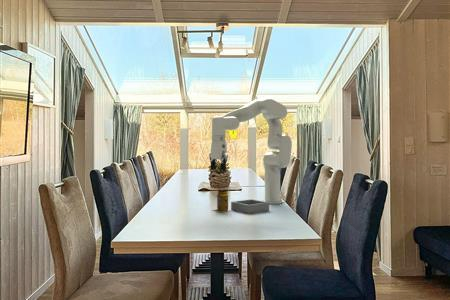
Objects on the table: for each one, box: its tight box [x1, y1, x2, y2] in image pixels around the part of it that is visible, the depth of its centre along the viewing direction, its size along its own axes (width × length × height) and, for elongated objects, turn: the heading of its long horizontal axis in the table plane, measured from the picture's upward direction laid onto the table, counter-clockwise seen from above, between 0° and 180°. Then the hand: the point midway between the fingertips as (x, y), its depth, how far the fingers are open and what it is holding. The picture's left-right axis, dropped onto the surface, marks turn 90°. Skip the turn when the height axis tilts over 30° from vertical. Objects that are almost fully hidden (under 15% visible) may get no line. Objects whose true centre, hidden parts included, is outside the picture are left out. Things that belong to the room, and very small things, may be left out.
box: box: [230, 199, 270, 214], centre depth 226 cm, size 15×15×4 cm
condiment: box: [211, 188, 231, 213], centre depth 224 cm, size 7×8×12 cm
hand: (218, 169), depth 224 cm, fingers open, 9 cm apart
